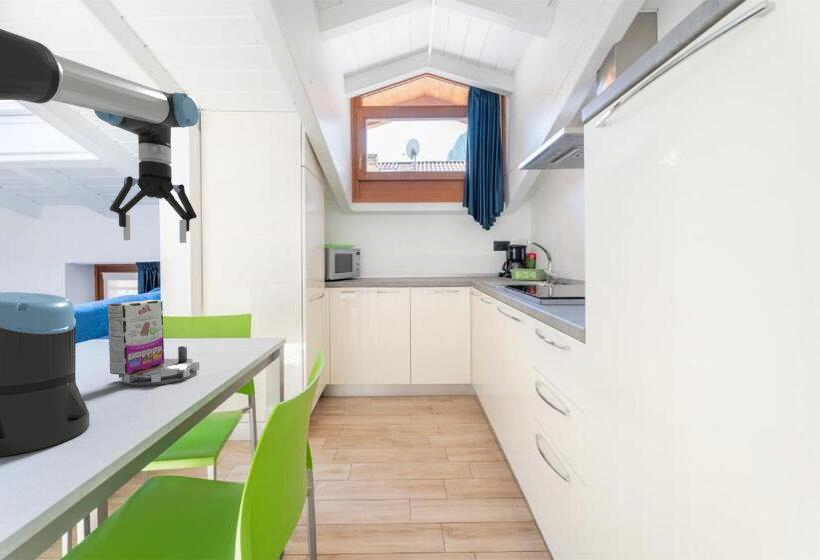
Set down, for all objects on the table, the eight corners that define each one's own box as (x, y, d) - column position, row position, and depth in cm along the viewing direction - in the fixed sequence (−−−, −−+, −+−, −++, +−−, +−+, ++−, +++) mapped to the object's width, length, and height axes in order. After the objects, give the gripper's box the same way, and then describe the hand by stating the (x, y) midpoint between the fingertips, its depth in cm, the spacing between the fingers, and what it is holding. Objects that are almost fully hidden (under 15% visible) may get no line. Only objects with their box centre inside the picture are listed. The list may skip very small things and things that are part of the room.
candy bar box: (148, 362, 103) (147, 299, 102) (165, 363, 102) (164, 299, 101) (107, 374, 92) (106, 303, 91) (125, 375, 91) (124, 303, 90)
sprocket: (110, 386, 89) (110, 359, 89) (126, 368, 105) (126, 345, 104) (197, 377, 97) (197, 353, 96) (200, 362, 112) (200, 341, 112)
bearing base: (134, 390, 89) (134, 387, 89) (113, 377, 99) (113, 374, 99) (207, 376, 102) (207, 372, 102) (181, 365, 112) (181, 363, 112)
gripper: (102, 150, 96) (104, 238, 97) (208, 170, 115) (209, 243, 116) (94, 155, 101) (95, 239, 101) (197, 173, 120) (197, 244, 121)
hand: (156, 241), depth 109 cm, fingers open, 13 cm apart
